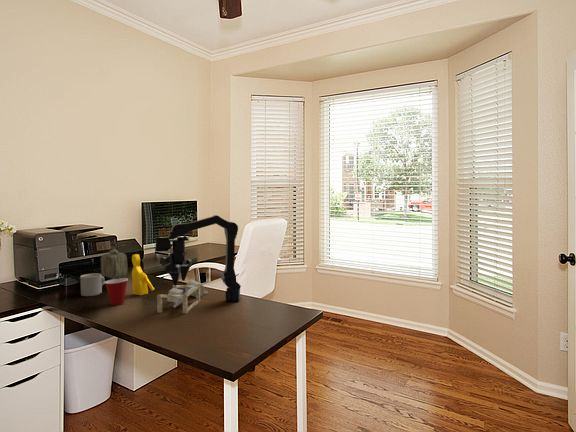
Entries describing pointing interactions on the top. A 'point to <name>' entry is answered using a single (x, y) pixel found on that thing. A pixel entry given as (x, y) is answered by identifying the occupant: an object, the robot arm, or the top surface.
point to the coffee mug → (91, 284)
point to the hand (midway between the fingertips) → (179, 283)
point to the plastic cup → (116, 290)
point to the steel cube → (174, 292)
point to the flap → (182, 298)
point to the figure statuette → (139, 278)
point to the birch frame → (185, 301)
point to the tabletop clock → (114, 264)
